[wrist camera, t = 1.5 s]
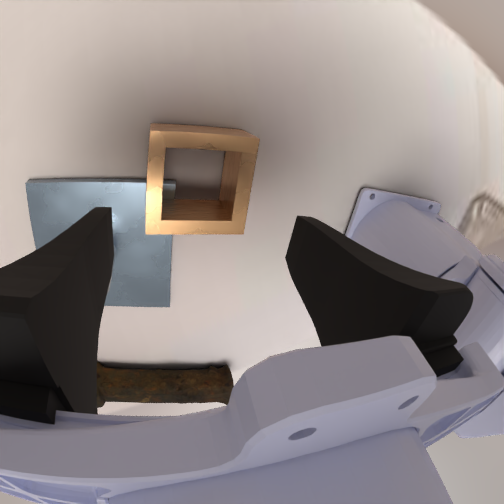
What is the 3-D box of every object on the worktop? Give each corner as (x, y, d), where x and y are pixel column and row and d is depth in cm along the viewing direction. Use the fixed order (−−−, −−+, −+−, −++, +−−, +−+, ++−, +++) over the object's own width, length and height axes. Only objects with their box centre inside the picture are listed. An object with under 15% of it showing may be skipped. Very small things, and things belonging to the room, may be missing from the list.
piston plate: (175, 180, 18) (176, 210, 15) (169, 301, 24) (171, 341, 20) (28, 179, 15) (1, 208, 12) (51, 297, 21) (39, 335, 17)
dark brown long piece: (231, 358, 30) (241, 396, 26) (223, 379, 32) (231, 415, 28) (45, 344, 24) (36, 382, 20) (53, 367, 26) (47, 404, 22)
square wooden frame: (241, 129, 17) (259, 138, 15) (229, 212, 20) (243, 234, 17) (150, 123, 16) (150, 130, 13) (145, 211, 18) (145, 234, 15)
